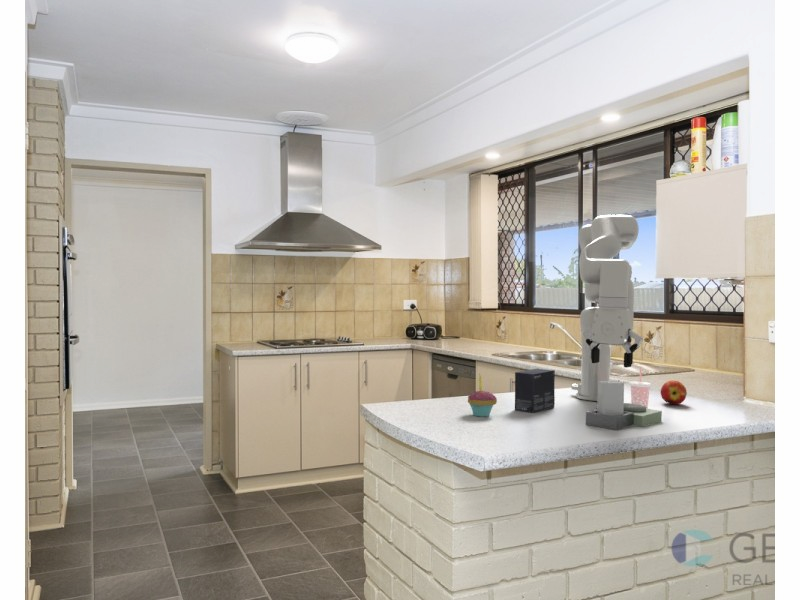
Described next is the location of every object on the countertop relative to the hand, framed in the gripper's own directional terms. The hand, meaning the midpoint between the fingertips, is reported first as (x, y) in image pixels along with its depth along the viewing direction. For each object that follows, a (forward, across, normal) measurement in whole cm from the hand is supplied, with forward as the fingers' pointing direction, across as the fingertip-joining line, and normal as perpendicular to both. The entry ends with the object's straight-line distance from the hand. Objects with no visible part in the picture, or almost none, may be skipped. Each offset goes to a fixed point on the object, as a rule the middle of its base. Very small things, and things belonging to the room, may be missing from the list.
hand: (611, 364), depth 178 cm
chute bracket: (+17, +1, -1) cm, 17 cm away
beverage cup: (+18, -3, +25) cm, 31 cm away
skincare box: (+17, +1, -1) cm, 17 cm away
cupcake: (+17, -30, -19) cm, 40 cm away
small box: (+18, -26, +2) cm, 32 cm away
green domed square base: (+17, +1, +10) cm, 20 cm away
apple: (+18, -2, +47) cm, 51 cm away
